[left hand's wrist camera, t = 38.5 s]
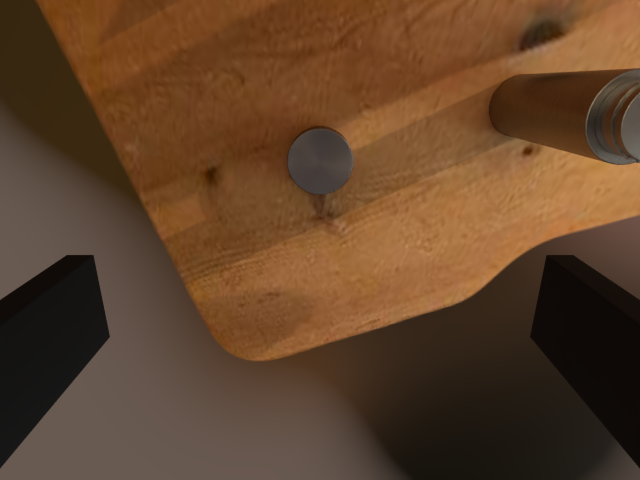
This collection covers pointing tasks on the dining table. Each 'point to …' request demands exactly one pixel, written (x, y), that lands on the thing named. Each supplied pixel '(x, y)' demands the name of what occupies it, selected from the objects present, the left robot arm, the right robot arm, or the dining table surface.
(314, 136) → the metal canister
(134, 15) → the dining table surface
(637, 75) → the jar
